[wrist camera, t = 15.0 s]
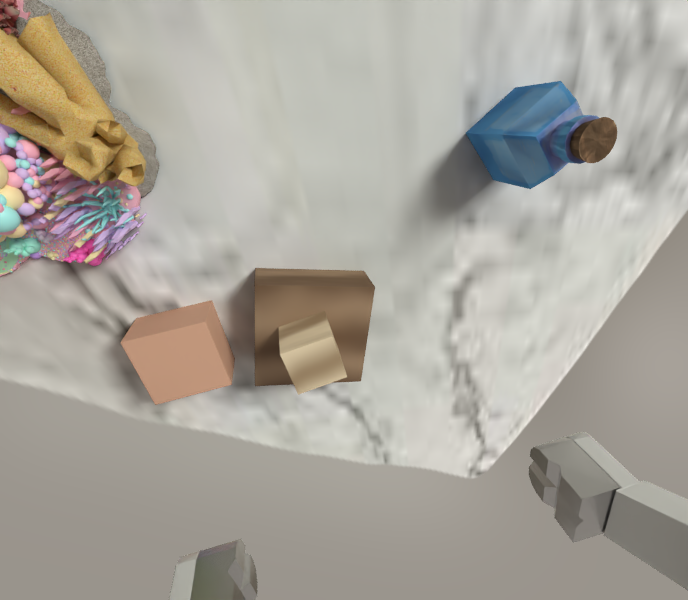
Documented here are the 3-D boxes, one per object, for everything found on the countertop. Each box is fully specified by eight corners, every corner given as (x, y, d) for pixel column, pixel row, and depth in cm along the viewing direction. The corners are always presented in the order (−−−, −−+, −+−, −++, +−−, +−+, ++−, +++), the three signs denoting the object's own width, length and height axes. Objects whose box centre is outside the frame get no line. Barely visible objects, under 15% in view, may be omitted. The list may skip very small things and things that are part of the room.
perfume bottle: (465, 132, 37) (547, 136, 26) (515, 87, 36) (621, 72, 25) (493, 179, 39) (577, 200, 29) (540, 139, 38) (645, 144, 28)
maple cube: (278, 326, 37) (279, 354, 32) (324, 310, 37) (332, 336, 33) (294, 364, 39) (298, 394, 35) (338, 348, 39) (347, 377, 35)
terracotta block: (136, 317, 38) (120, 342, 34) (212, 299, 39) (205, 321, 35) (166, 375, 42) (155, 404, 38) (234, 357, 43) (231, 384, 38)
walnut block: (255, 266, 39) (254, 285, 34) (363, 269, 41) (375, 287, 37) (255, 359, 44) (255, 386, 39) (351, 356, 46) (360, 381, 42)
